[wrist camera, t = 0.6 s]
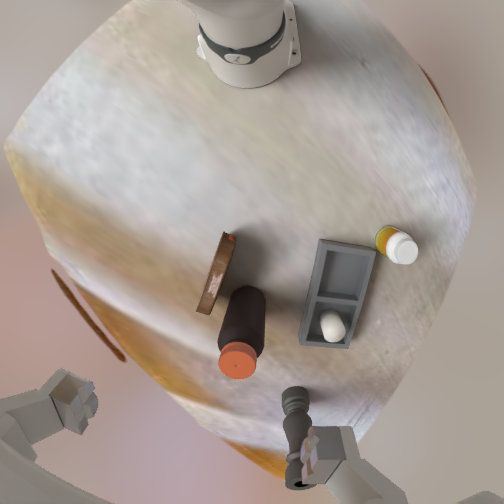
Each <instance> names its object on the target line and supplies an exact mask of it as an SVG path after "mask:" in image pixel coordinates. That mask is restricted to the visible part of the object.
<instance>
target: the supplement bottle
mask: <svg viewBox="0 0 504 504" xmlns="http://www.w3.org/2000/svg"><path fill="white" fill-rule="evenodd" d="M374 245H375V247H376V249H377V250H378V251H379V252H380V253H382V254H383V255H384V256H386V257H387V258H388V259H390V260H391V261H392V262H394V263H397V264H405V265H408V264H411V263H412V262H414V261H415V259H416V258H417V255H418V247H417V245H416V243H415V242H413V239H412V238H411V236H409V235H408V234H407V233H405V232H403V231H401V230H399V229H396V228H394V227H392V226H383V227H381V228H379V229H378V230H377V232H376V234H375V236H374Z"/></svg>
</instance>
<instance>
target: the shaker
mask: <svg viewBox="0 0 504 504" xmlns="http://www.w3.org/2000/svg"><path fill="white" fill-rule="evenodd" d="M319 322H320V325H321V328H322V332H323V335H324V338H325V339H326V340H327V341H329V342H338V341H340V340H341V339H342V338H343V337H344V336H345V333H346V330H345V327H344V325H343V323H342V320H341V318H340V316H339V314H338V312H337V311H336V310H335V309H333V308H327V309H325V310H323V311H322V312H321V313H320V315H319Z"/></svg>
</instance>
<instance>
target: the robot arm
mask: <svg viewBox="0 0 504 504" xmlns="http://www.w3.org/2000/svg"><path fill="white" fill-rule="evenodd" d="M177 1H179V2H181V3H182V4H184V5H185V6H187V7H188V8H189V9H190V10H191V11H192V13H193V14H194V15H195V17H196V18H197V20H198V22H199V28H200V33H201V34H200V35H199V36H198V41H199V47H198V49H197V54H198V56H199V57H200V58H201V59H202V60H204V61H205V62H207V63H208V64H209V66H210V67H211V69H212V71H213V72H214V74H215V75H216V76H217V77H218V78H219V79H220V80H222V81H223V82H225V83H227V84H229V85H231V86H235V87H239V88H255V87H260V86H264V85H266V84H269V83H270V82H272V81H274V80H275V79H277V78H278V77H279V76H280V75H281V74H282V73H283V72H284V71H286V70H287V69H290V68H292V67H295V66H297V65H299V64H300V63H301V51H300V44H299V36H298V29H297V22H296V16H295V10H294V5H293V3H292V2H290V1H289V0H177ZM293 52H294V53H296V55H293V54H292V53H293ZM94 389H95V387H94V384H93V382H91V381H89V380H87V379H85V378H82V377H80V376H77V375H75V374H73V373H71V372H69V371H66V370H64V369H62V368H61V369H58V370H57V371H56V372H55V373H54V374H53V375H52V376H51V377H50V378H49V380H48V381H47V382H46V383H45V384H44V385H43V386H42V387H41V388H40V389H39V390H37V389H34V390H31V391H28V392H24V393H21V394H17V395H14V396H10V397H6V398H3V399H0V504H114V503H112V502H109V501H107V500H104V499H102V498H99V497H97V496H95V495H93V494H91V493H88V492H86V491H84V490H82V489H80V488H78V487H76V486H74V485H72V484H70V483H68V482H66V481H64V480H63V479H61V478H59V477H57V476H56V475H54V474H52V473H50V472H49V471H47V470H45V469H44V468H42V467H40V466H39V465H37V464H35V463H34V461H35V460H36V458H37V453H36V452H35V450H34V449H33V447H32V446H31V445H32V444H34V443H36V442H38V441H41V440H43V439H44V438H46V437H49V436H51V435H52V434H55V433H56V432H58V431H60V430H62V429H64V428H66V429H68V430H71V431H73V432H75V433H77V434H80V435H82V434H83V432H84V431H85V429H86V427H87V426H88V419H89V418H92V417H94V415H95V413H96V411H97V408H98V399H97V396H96V395H95V393H94V392H93V390H94ZM300 456H301V462H302V463H303V464H304V466H303V468H302V470H301V471H302V484H325V486H326V487H327V489H328V490H329V491H330V493H331V494H332V495H333V496H334V497H335V499H336V500H337V501H338V502H339V503H340V504H408V502H407V498H406V495H405V492H404V491H403V490H401V489H400V488H399V487H397V486H396V485H395V484H394V483H393V482H391V481H390V480H389V479H388V478H386V477H385V476H384V475H383V474H382V473H380V472H379V471H378V470H377V469H376V468H375V467H373V466H372V465H371V464H370V463H369V462H367V461H366V460H365V459H361V458H360V454H359V450H358V447H357V443H356V439H355V436H354V432H353V428H352V427H351V426H338V427H337V426H311V427H310V428H309V430H308V437H307V438H305V439H304V441H303V443H302V447H301V455H300ZM454 504H504V499H503V498H501V497H500V496H498V495H496V494H494V493H492V492H489V491H482V492H480V493H477V494H475V495H473V496H471V497H469V498H466V499H464V500H462V501H459V502H457V503H454Z"/></svg>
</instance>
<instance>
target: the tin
mask: <svg viewBox="0 0 504 504" xmlns="http://www.w3.org/2000/svg"><path fill="white" fill-rule="evenodd" d="M235 241H236V237H235V236H233V235H230V234H228V233H225V232H223V234H222V237H221V239H220V242H219V245H218V248H217V251H216V253H215V256H214V259H213V262H212V265H211V268H210V271H209V273H208V276H207V279H206V282H205V285H204V288H203V291H202V294H201V297H200V300H199V303H198V306H197V309H196V312H200V313H203V314H206V315H210V314H211V312H212V309H213V307H214V304H215V301H216V299H217V296H218V293H219V291H220V288H221V285H222V283H223V280H224V277H225V274H226V271H227V269H228V266H229V263H230V260H231V257H232V254H233V251H234V248H235V243H236V242H235Z"/></svg>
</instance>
